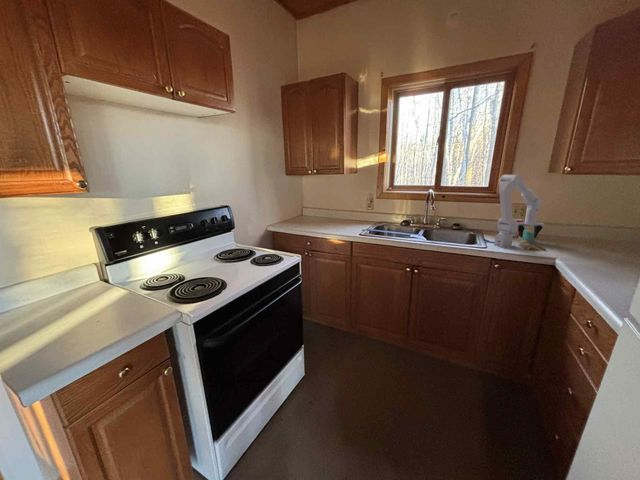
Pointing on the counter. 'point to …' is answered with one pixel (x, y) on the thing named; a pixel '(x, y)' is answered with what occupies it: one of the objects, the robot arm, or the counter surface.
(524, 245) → the offcut
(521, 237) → the stand
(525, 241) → the offcut
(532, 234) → the board
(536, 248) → the rack
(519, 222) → the soda can
